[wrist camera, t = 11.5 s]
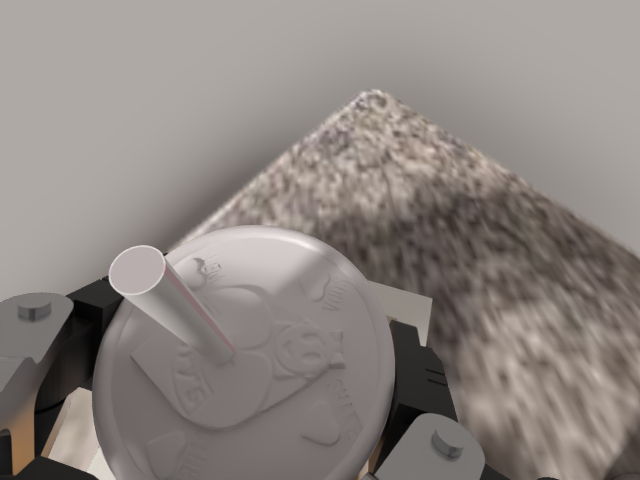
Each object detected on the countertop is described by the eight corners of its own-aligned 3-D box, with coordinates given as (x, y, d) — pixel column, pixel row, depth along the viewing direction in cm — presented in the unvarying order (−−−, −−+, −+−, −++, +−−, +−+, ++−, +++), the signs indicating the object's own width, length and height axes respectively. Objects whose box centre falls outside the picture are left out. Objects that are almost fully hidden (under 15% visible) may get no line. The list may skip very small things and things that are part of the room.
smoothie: (211, 324, 17) (-13, 63, 5) (341, 319, 18) (434, 67, 5) (196, 482, 14) (-479, 826, 2) (353, 472, 15) (632, 701, 2)
